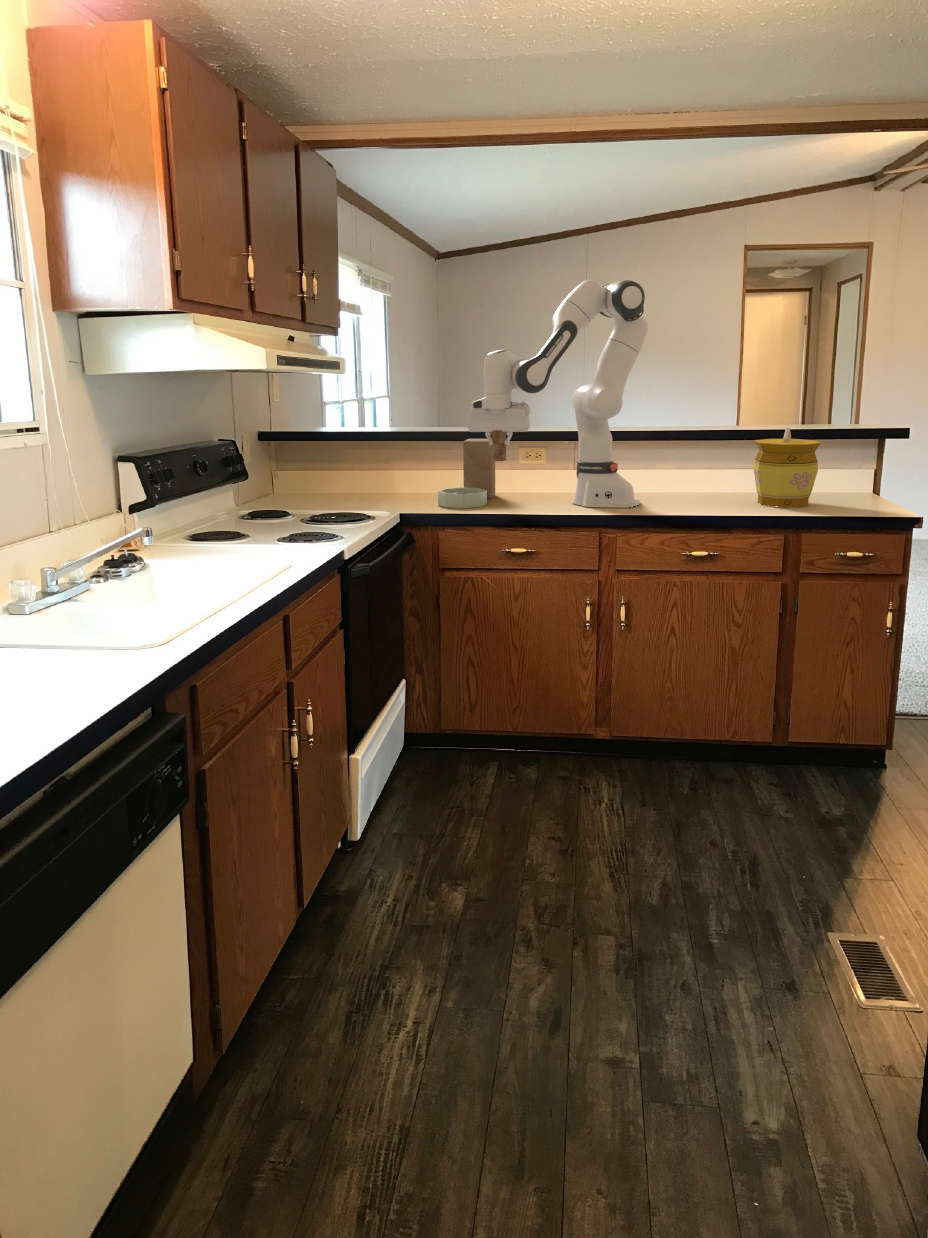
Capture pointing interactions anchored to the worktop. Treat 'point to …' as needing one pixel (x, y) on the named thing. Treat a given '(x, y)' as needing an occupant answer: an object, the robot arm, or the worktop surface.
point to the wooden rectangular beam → (498, 445)
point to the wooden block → (479, 465)
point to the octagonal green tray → (462, 497)
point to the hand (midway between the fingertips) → (499, 445)
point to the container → (785, 471)
